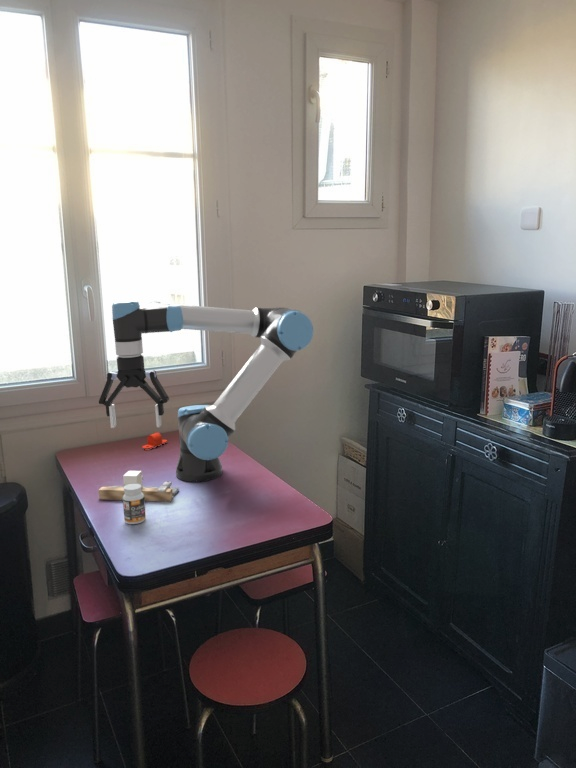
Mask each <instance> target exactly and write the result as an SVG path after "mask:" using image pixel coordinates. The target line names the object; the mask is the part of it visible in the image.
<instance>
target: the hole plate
mask: <svg viewBox="0 0 576 768" xmlns="http://www.w3.org/2000/svg"><path fill="white" fill-rule="evenodd" d="M109 487H124V485H109ZM160 487H161V486H144V485H143V488H160ZM170 489H172V494H173V497H175V496H176V495H177V493H178V492H179V490H180V488H179V487H178V486H177V487H176V486H170Z"/></svg>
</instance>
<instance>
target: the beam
mask: <svg viewBox="0 0 576 768" xmlns="http://www.w3.org/2000/svg"><path fill="white" fill-rule="evenodd" d="M158 489H159V488H142V490H141V492H142V493H143V494H144V499H145V502H147V501H148V502H171V501H172V500H173V499H174V496H173V494H172V489H166V491H165V492H158V491H157V490H158ZM124 494H125V492H124V487H110V486H101V487H100V488H99V489H98V498H99V499H98V500H112V501H113V500H117V501H123V496H124Z"/></svg>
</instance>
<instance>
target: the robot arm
mask: <svg viewBox="0 0 576 768" xmlns="http://www.w3.org/2000/svg"><path fill="white" fill-rule="evenodd" d="M111 311H112V312H111V313H112V315H111V316H112V324H113V325H112V326H113V333H114V334H113V335H114V342H115V343H114V344H115V345H114V346H115V354H116V356H117V357H116V367H117V372H114V371H109V372H107V374H106V382H105V384H104V388H103V390H102V392H101V395H100V397H99V400H98V404H99V405H103V406H105V411H106V414H105V415H106V417H109V420H110V428H111V429H114V428H115V427H117V416H116V407H115V406H116V405H115V403H113V402H114V400H115V399H116V398H117V396H118V395H119V394H120V393H121V391H123V388H138V387H139V388H141V390H143V391H144V393H146V394H147V395H148V396H149V397H150V398H151V399H152V400H153V401H154V403H156V404H155V405H154V411H155V424H156V428H161V426H162V423H163V422H162V416H164V413H165V411H164V410H165V409H164V404H166V403H168V401H170V397H169V396H168V393H167V392H166V391H165V389H164V387H163V386H162V384H161V382H160V381H159V379H158V376H157V371H156V370H154V369H153V370H152V371H146V370H145V359H144V355H143V353H144V350H143V349H144V347H143V338H142V337H143V336H142V334H148V333H149V334H151V333H152V334H153V333H167V332H170V333H172V332H176V331H177V332H178V331H181V330H193V331H205V332H207V331H208V332H218V333H219V332H220V333H223V332H224V333H234V334H247V335H251V337H253V338H260V345H259V346H258V347H257V348H256V350H255V351H254V352H253V354H251V356H250V357H249V359H248V360H246V362H245V363H244V365H242V367H241V369H240V370H239V371H238V373H236V375H235V376H234V377H233V379H232V380H231V381H230V383H228V385H227V386H226V388H224V390H223V391H222V392H221V394H219V395H220V396H218V398H217V399H216V401H215V402H213V404H212V405H210V404H196V405H188V406H183V407H180V408H179V409H178V410H177V421H178V422H177V423H178V435H179V436H178V437H179V438H178V439H179V456H178V460H177V463H176V468H175V476H176V478H177V479H179V480H181V481H183V482H184V481H185V482H191V483H192V482H196V483H197V482H206V481H210V480H214V479H216V478H218V477H220V476H221V475H222V473H223V464H222V462H221V459H220V456H221V457H222V455H223V454H224V453H225V452H226V450H227V448H228V445H229V438H230V437H231V436H232V435H233V433H234V432H235V431H236V421H237V420H238V419H239V417H241V415H242V414H243V413H244V411H245V410H246V409H247V408H248V406H249V405H250V404H251V402H252V401H253V400H254V399H255V398H256V396H257V395H258V393H259V392H260V391H261V390H262V389H263V387H264V386H265V384H266V383H268V381H269V379H270V378H271V377H272V376H273V374H274V373H275V372H276V370H277V369H278V368H279V367H280V365H281V364H282V363H283V362H285V361H290V360H291V359H293V357H294V356H295V355H296V353H298V351H301V350H303V349H305V348H306V347H308V346H309V345H310V343H311V342H312V339H313V337H314V325H313V323H312V320H311V319H310V317H309V316H307V314H305V313H304V312H302V311H300V310H297V309H291V308H289V307H254V308H253V309H251V310H248V309H237V308H227V307H216V306H215V307H213V306H202V305H189V304H180V303H179V304H178V303H175V304H174V303H168V302H167V303H166V302H160V301H152V302H150V303H148V304H146V305H145V306H140V303H139V301H137V300H134V299H132V300H117V301H114V302H113V304H112V306H111ZM146 378H148V379H149V380H150V381H151V383H152V385H153V387H154V388H155V390H156V391H157V392H156V391H155V390H154V389H153V387H151V386H150V385H149V383H148V382H147V381H146ZM116 379H118V380H119V381H120V382H119V383H118V385H117V386H116V388H115V389H114V390H113V392H112V393H111V394H110V395H109V393H110V391H111V389H112V385H113V383H114V380H116ZM108 395H109V397H108Z"/></svg>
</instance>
